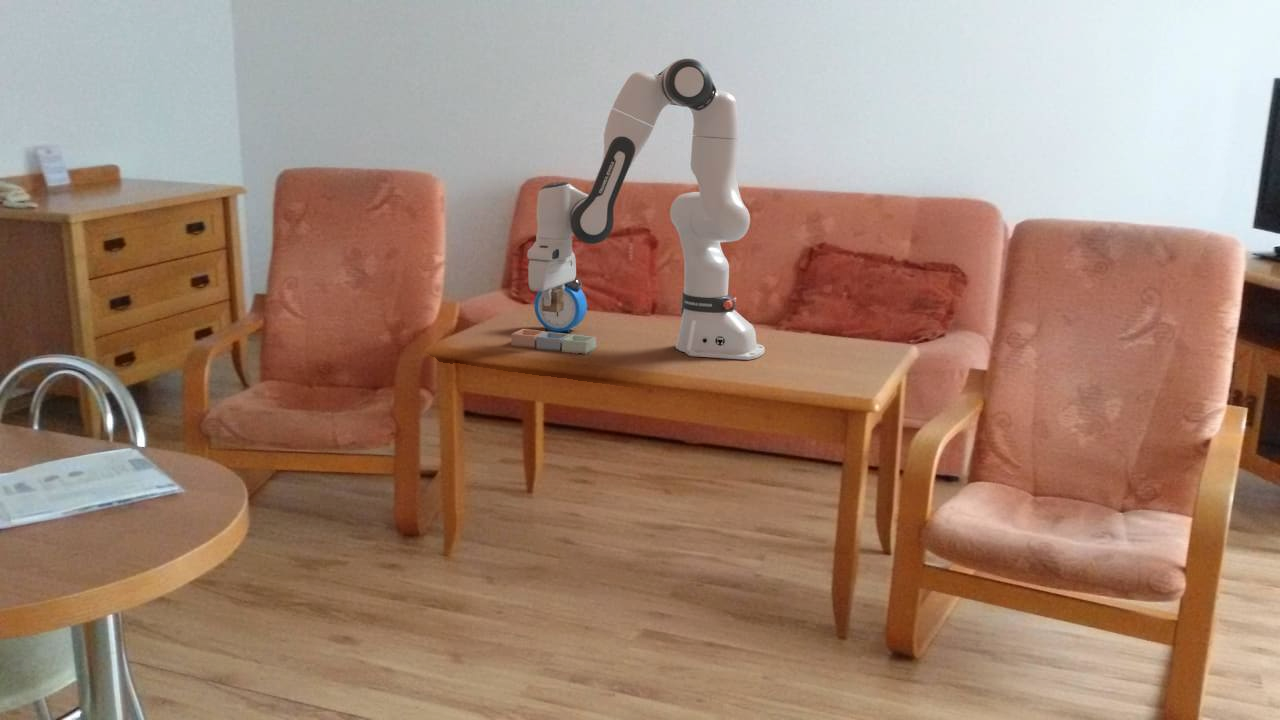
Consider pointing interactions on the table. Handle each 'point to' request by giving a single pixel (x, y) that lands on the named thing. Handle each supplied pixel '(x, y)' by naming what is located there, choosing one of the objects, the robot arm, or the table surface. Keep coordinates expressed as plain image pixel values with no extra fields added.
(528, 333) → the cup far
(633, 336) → the table surface
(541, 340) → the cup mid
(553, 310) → the brown block
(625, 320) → the table surface
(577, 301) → the alarm clock
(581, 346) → the pale green square tray
